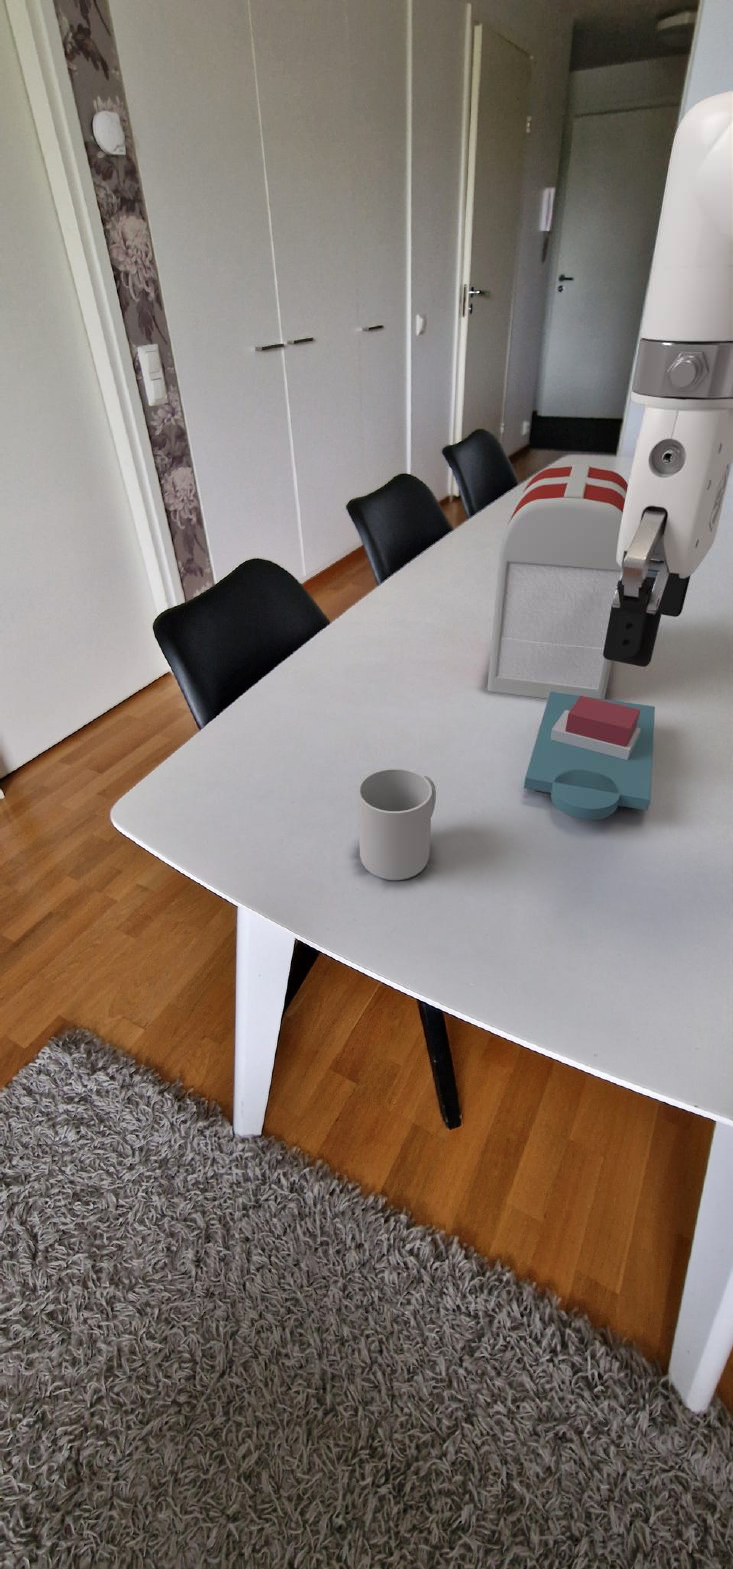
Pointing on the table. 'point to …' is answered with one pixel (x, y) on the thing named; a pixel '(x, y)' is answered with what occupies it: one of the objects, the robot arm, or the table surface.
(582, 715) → the maroon block on base
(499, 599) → the red-striped rounded block
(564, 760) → the board
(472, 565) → the table surface
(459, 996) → the table surface
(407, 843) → the cup
